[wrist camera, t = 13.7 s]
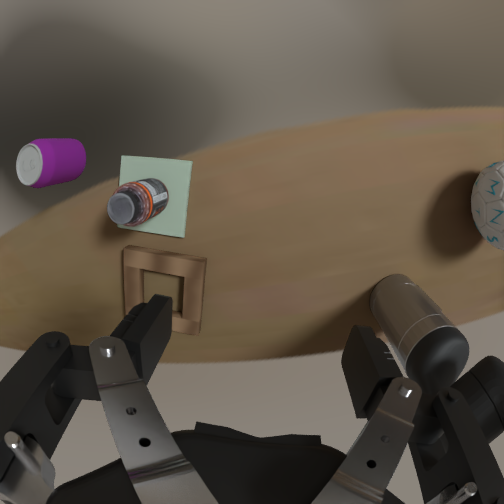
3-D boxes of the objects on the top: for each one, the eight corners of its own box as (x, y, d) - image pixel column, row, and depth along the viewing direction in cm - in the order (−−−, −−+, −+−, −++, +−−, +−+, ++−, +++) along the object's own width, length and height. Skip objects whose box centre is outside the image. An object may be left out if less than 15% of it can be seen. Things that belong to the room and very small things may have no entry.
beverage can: (88, 135, 41) (44, 134, 30) (89, 178, 43) (45, 188, 32) (57, 141, 41) (13, 143, 30) (58, 182, 44) (14, 192, 32)
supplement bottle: (149, 221, 45) (116, 241, 34) (129, 191, 43) (92, 204, 33) (177, 200, 43) (149, 215, 33) (156, 169, 42) (123, 175, 31)
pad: (192, 161, 42) (191, 161, 41) (184, 236, 46) (183, 237, 45) (123, 155, 42) (121, 155, 41) (119, 226, 46) (117, 227, 45)
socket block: (206, 258, 47) (204, 262, 45) (200, 329, 51) (198, 335, 49) (128, 244, 47) (123, 248, 45) (130, 314, 51) (126, 319, 49)
